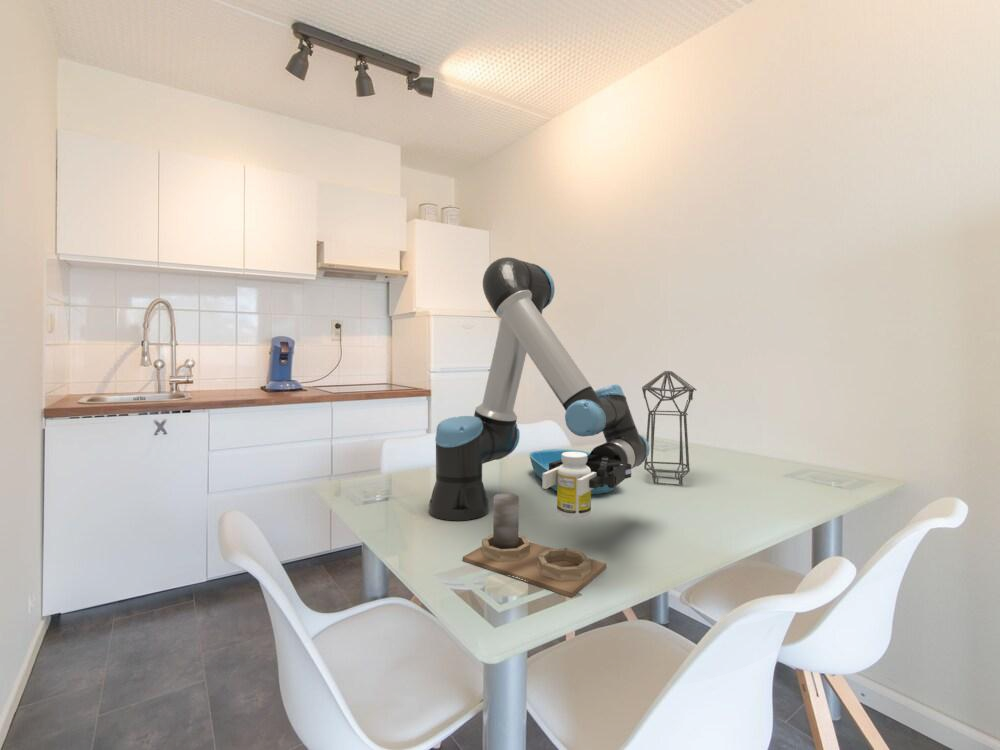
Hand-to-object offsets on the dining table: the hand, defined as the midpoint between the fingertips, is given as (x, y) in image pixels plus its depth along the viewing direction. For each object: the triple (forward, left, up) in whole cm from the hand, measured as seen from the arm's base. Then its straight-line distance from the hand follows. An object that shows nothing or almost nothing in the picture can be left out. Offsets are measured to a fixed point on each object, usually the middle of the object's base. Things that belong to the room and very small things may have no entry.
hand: (561, 484), depth 86 cm
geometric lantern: (-6, +80, -18) cm, 82 cm away
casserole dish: (-29, +60, -18) cm, 69 cm away
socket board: (-7, +3, -17) cm, 19 cm away
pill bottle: (0, +5, -7) cm, 8 cm away
